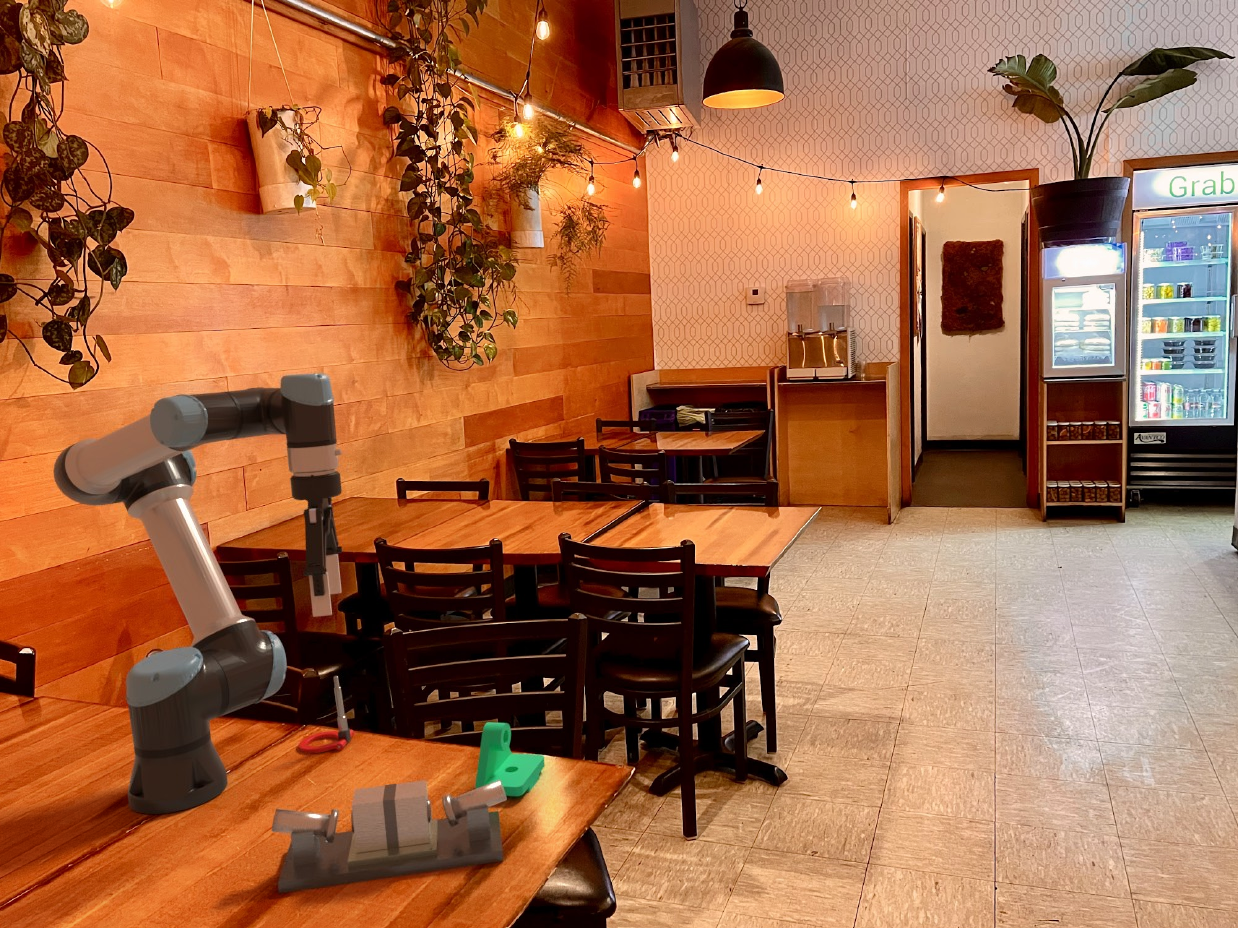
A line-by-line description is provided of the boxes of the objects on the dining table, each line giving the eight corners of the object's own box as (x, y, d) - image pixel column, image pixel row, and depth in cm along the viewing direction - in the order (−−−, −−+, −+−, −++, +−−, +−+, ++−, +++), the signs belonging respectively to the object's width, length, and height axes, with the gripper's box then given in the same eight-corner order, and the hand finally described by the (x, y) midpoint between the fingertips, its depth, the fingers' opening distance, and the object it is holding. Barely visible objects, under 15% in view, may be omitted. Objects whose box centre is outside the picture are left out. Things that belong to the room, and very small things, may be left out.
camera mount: (521, 803, 155) (517, 740, 153) (476, 799, 157) (471, 738, 155) (546, 769, 166) (542, 711, 165) (504, 767, 168) (499, 709, 167)
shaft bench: (269, 894, 132) (262, 831, 131) (283, 849, 144) (277, 791, 143) (512, 859, 137) (507, 798, 136) (507, 819, 149) (502, 762, 148)
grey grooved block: (353, 853, 137) (348, 805, 136) (356, 835, 142) (352, 789, 141) (432, 842, 139) (428, 794, 138) (433, 825, 144) (428, 779, 143)
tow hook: (292, 757, 178) (342, 752, 178) (281, 688, 177) (332, 684, 176) (309, 738, 187) (356, 734, 186) (299, 672, 185) (347, 668, 185)
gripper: (330, 481, 143) (343, 622, 146) (347, 461, 168) (359, 583, 170) (276, 485, 142) (291, 628, 145) (301, 464, 167) (314, 587, 169)
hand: (327, 604), depth 158 cm, fingers open, 13 cm apart
